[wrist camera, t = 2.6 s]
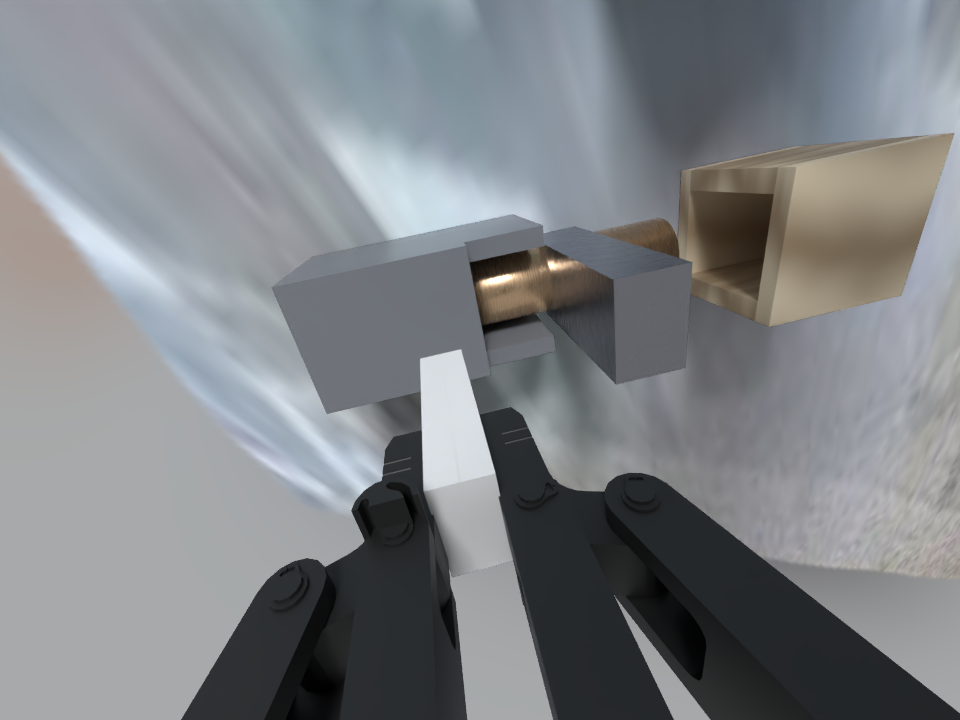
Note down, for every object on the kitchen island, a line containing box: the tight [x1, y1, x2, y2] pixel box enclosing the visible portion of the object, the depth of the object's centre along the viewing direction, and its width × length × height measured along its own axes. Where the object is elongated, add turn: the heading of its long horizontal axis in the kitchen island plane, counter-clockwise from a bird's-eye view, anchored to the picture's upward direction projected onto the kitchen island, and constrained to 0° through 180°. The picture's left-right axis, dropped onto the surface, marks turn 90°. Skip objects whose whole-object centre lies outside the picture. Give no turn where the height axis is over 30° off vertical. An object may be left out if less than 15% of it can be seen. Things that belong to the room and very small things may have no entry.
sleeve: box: [272, 215, 555, 414], centre depth 23 cm, size 7×13×8 cm, turn 101°
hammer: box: [469, 218, 693, 384], centre depth 20 cm, size 4×18×12 cm, turn 101°
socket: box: [678, 133, 954, 327], centre depth 23 cm, size 8×8×8 cm
